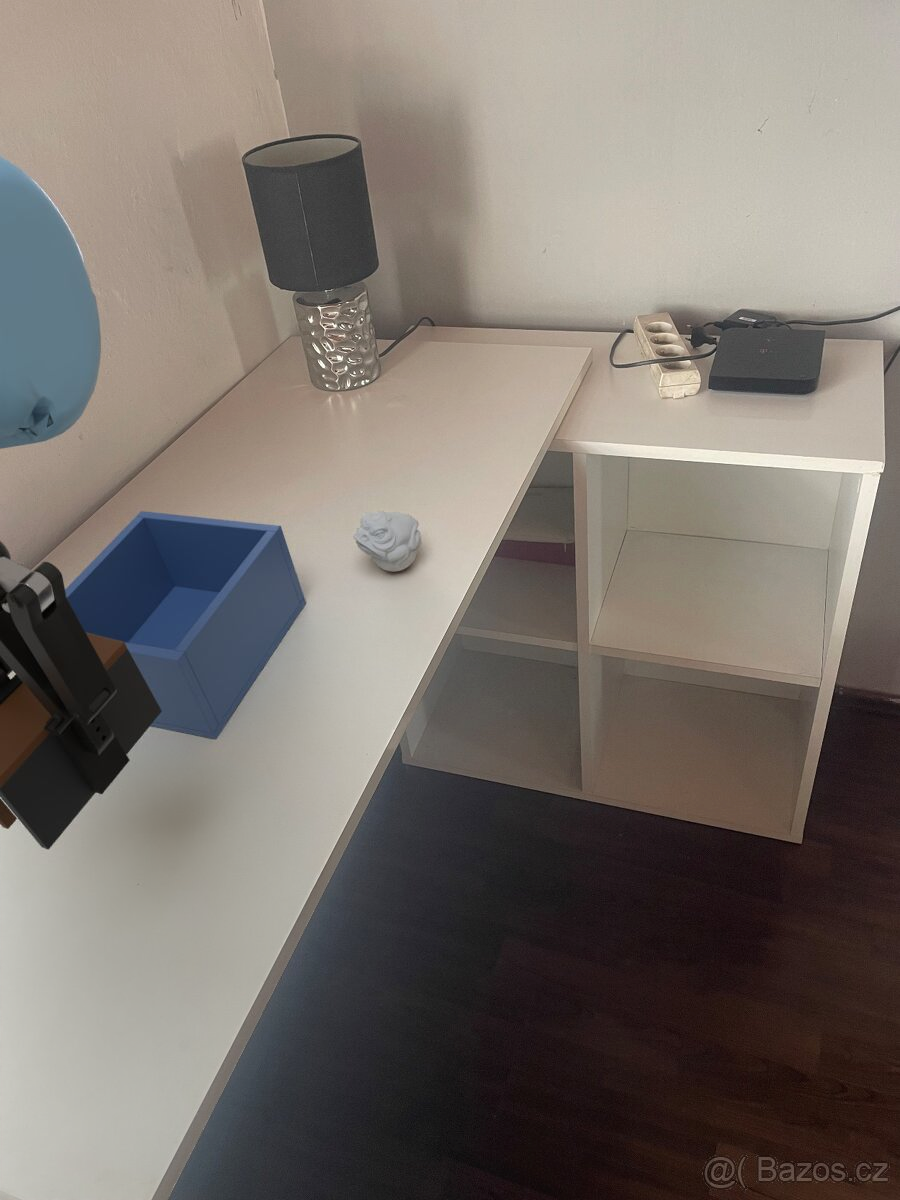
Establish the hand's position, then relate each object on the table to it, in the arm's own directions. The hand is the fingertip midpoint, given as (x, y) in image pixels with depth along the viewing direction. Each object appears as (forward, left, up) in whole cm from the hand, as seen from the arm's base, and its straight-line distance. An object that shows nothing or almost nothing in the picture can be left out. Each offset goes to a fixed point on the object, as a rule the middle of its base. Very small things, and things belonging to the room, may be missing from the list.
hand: (82, 765), depth 55 cm
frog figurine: (+39, -3, -15) cm, 42 cm away
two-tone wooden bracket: (0, 0, 0) cm, 0 cm away
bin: (+23, +12, -15) cm, 30 cm away
